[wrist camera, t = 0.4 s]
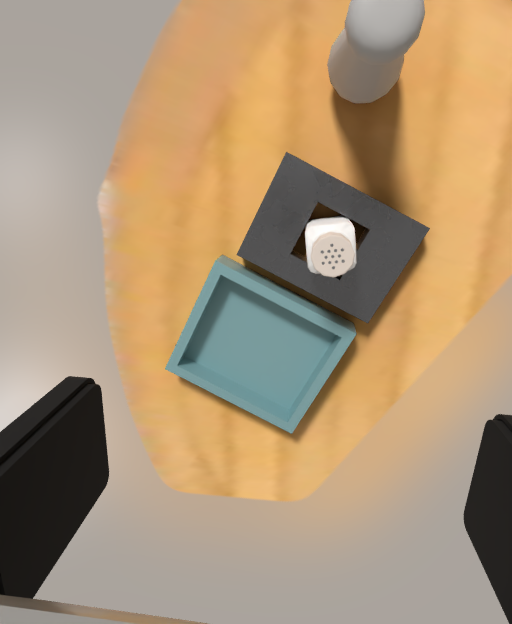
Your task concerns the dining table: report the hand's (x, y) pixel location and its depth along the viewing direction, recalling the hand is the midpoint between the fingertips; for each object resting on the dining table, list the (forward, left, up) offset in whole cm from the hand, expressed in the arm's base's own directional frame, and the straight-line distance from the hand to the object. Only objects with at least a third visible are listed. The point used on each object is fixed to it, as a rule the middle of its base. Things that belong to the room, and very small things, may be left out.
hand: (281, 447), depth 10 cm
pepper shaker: (-2, +2, -32) cm, 32 cm away
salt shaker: (-15, -3, -32) cm, 35 cm away
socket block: (-2, +2, -31) cm, 31 cm away
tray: (+11, +1, -31) cm, 33 cm away
